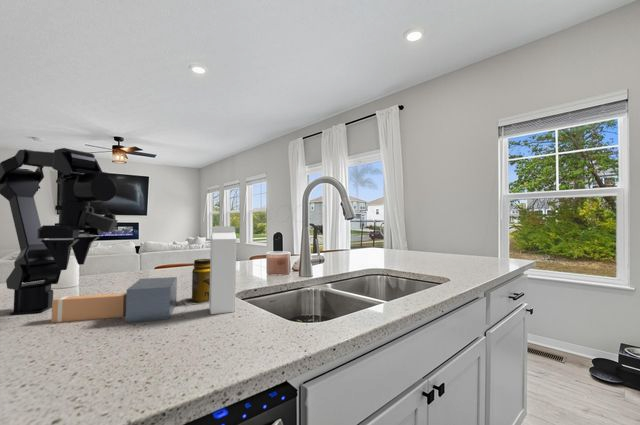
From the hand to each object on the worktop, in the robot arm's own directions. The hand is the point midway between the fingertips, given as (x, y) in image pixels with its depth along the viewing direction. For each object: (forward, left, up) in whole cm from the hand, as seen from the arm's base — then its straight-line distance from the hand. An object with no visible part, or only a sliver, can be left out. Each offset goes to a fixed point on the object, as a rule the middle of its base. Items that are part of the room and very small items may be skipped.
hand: (72, 267), depth 73 cm
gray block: (+18, -1, -12) cm, 21 cm away
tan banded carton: (+4, -1, -12) cm, 13 cm away
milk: (+34, -4, -12) cm, 37 cm away
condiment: (+28, +8, -12) cm, 32 cm away
